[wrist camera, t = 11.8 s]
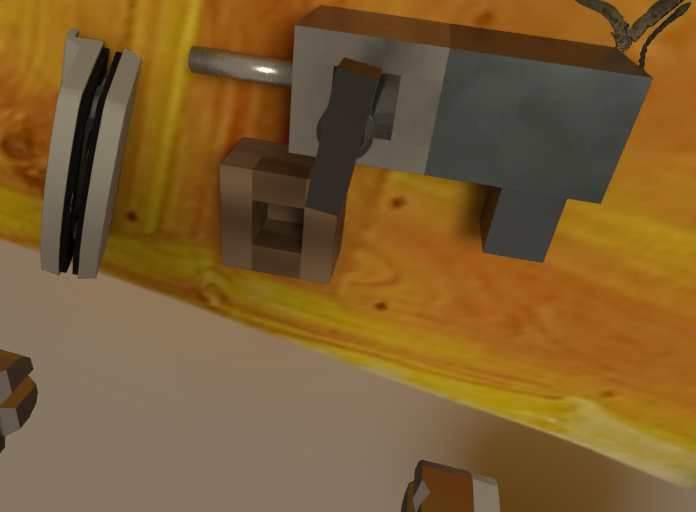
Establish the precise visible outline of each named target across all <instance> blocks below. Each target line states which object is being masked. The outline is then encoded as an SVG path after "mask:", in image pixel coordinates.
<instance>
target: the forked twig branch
mask: <svg viewBox="0 0 696 512" xmlns="http://www.w3.org/2000/svg"><path fill="white" fill-rule="evenodd" d="M575 1H577V2H578V3H580V4H582V5H584V6H586V7H588V8H590V9H592V10H595V11H597V12H599V13H601V14H602V15H603V16H604V17H605V18H606V19H608V20H609V22H610V24H611V25H612V27H613V29H614V32H615V35H614V34H613V32H612V33H611V32H610V33H611V34H612V35H613V36H614V39H615V42H616V48H618V47H619V44H618V42H619V43H620V47H619V49H622V50H623V51H621V52H622V53H623V52H624V50H625V48H626V50H627V49H628V48H630V47H629V46H630V45H632V41H633V42H637V40H638V39H639V38H640V36H642V35H643V34H644V32H645V31H646V29H647V28H648V27H651V26H654V25H655V24H656V23H657V22H658V21H659V20H660V19H662V18H663V17H664V16H665V15H666V14H668V13H669V12H670V11H672V10H673V9H674V8H675V7H677V6H678V5H679V4H680V3H682V2H683V1H684V0H659V1H658V2H656V3H655V4H654V5H653V6H652V7H651V8H650V9H649V10H648V11H647V13H646V14H644V15H643V17H640V18H639V19H638V20H637V21H636V22H635V23H634V24H633V26H632V27H631V28H630V29H629V30H628V27H629V24H628V23H626V21H623V16H622V15H621V14H620V13H619V11H618V10H617V9H616V8H615V7H614V6H613V5H611V4H609V3H607V2H604V1H601V0H575ZM690 5H691V2H688V3H686V4H683V5H681V6H680V7H679V8H677V9H676V11H675V12H674V13H673V14H672V15H671V16H670V17H668V19H667V20H665V21H664V22H663V23H662V24H661V25H660V26H659V27H658V28H657V29H655V31H654V32H653V33H652V34H651V35H650V36H649V37H648V39H647V41H646V43H645V44H644V45H643V48H642V51H641V53H640V56H641V58H640V60H639V62H640V65H639V67H640V68H642V69H643V70H644V65H645V62H644V60H645V53H646V52H647V46H648V45H649V44H650V43H651V41H652V40H653V39H654V38H655V37H656V35H657V34H658V33H659V32H661V31H662V29H663V28H665V27H666V26H667V25H668V24H669V23H671V22H672V21H674V20H675V19H676V18H678V17H680V16H682V15H683V14H684V13H685V12H686V11H687V9H688V8H689V6H690ZM625 23H626V24H625ZM621 37H622V38H621ZM619 38H620V40H619ZM617 39H618V41H617ZM621 43H623V44H621ZM624 46H625V47H624ZM621 47H622V48H621ZM623 47H624V48H623ZM619 49H618V50H619ZM625 52H626V51H625Z"/></svg>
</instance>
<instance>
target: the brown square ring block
mask: <svg viewBox="0 0 696 512" xmlns="http://www.w3.org/2000/svg"><path fill="white" fill-rule="evenodd" d="M315 159H316V157H313V156H307V155H301V154H295V153H289V145H288V144H282V143H276V142H270V141H264V140H257V139H251V138H245V137H244V138H243V139H242V140H241V141H240V142H239V143H238V144H237V145H236V147H235V148H234V149H233V150H232V151H231V152H230V153H229V154H228V155H227V157H226V158H225V159H224V160H223V161H222V162H221V163H220V164H219V167H220V202H221V236H222V265H225V266H231V267H236V268H242V269H247V270H253V271H258V272H264V273H269V274H275V275H280V276H286V277H291V278H297V279H302V280H308V281H313V282H319V283H324V284H330V281H331V278H332V274H333V271H334V268H335V265H336V262H337V259H338V256H339V252H340V249H341V243H342V234H343V226H344V218H345V209H346V201H347V196H346V199H345V202H344V205H343V208H342V211H341V214H340V216H339V217H337V216H333V215H330V214H327V213H323V212H320V211H317V210H314V209H310V208H307V207H304V206H305V202H306V198H307V193H308V189H309V185H310V180H311V176H312V172H313V168H314V163H315Z"/></svg>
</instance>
